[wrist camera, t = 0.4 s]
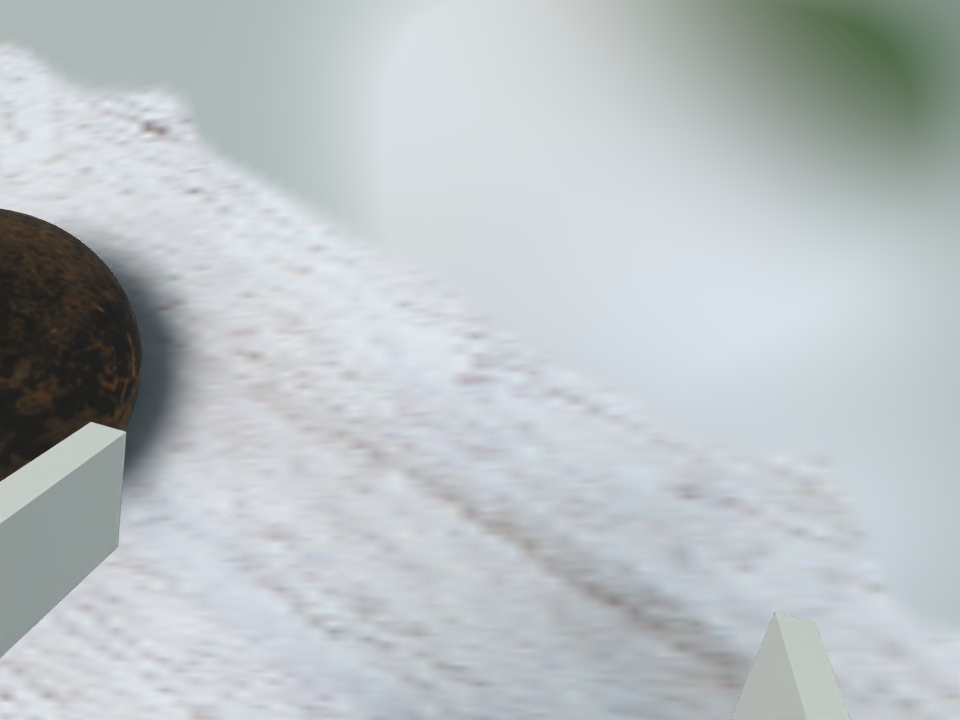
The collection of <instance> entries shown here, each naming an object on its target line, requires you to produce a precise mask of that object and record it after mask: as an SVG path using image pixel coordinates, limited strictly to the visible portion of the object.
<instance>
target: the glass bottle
mask: <svg viewBox="0 0 960 720" xmlns="http://www.w3.org/2000/svg"><path fill="white" fill-rule="evenodd" d="M141 362H142V351H141V342H140V335H139V330H138V326H137V322H136V319H135V315H134V313H133V310H132V308H131V305H130V303H129V301H128V298H127V296H126V294H125V292H124V290H123V289H122V287H121V286H120V284H119V282H118V280H117V279H116V278H115V276H114V275H113V273H112V272H111V271H110V270H109V268H108V267H107V266H106V264H105V263H104V262H103V261H102V260H101V259H100V258H99V257H98V256H97V255H96V254H95V253H94V252H93V251H92V250H91V249H89V248H88V247H87V246H86V245H85V244H83V243H82V242H81V241H80V240H79V239H77V238H76V237H74V236H72V235H71V234H69V233H68V232H66V231H64V230H63V229H61V228H59V227H57V226H55V225H53V224H51V223H49V222H46V221H44V220H41V219H38V218H36V217H33V216H30V215H27V214H23V213H19V212H15V211H11V210H5V209H0V482H1V481H2V480H4V479H5V478H7V477H8V476H10V475H11V474H13V473H14V472H16V471H17V470H19V469H20V468H22V467H23V466H25V465H26V464H28V463H30V462H31V461H33V460H34V459H36V458H37V457H39V456H40V455H42V454H43V453H45V452H46V451H48V450H49V449H51V448H52V447H54V446H55V445H57V444H58V443H60V442H61V441H63V440H64V439H66V438H67V437H69V436H70V435H72V434H73V433H75V432H77V431H78V430H80V429H81V428H83V427H84V426H86V425H87V424H89V423H90V422H93V423H96V424H100V425H104V426H107V427H111V428H114V429H118V430H122V431H123V430H124V429H125V427H126V425H127V423H128V421H129V418H130V416H131V414H132V411H133V408H134V404H135V401H136V398H137V393H138V390H139V384H140V376H141Z"/></svg>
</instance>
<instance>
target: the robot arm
mask: <svg viewBox="0 0 960 720" xmlns="http://www.w3.org/2000/svg"><path fill="white" fill-rule="evenodd" d="M125 445H126V432H125V431H122V430H118V429H114V428H111V427H107V426H104V425H100V424H96V423H93V422H90V423H89V424H87V425H86V426H84V427H83V428H81V429H80V430H78V431H77V432H75V433H73V434H72V435H70V436H69V437H67V438H66V439H64V440H63V441H61V442H60V443H58V444H57V445H55V446H54V447H52V448H51V449H49V450H48V451H46V452H45V453H43V454H42V455H40V456H39V457H37V458H36V459H34V460H33V461H31V462H30V463H28V464H26V465H25V466H23V467H22V468H20V469H19V470H17V471H16V472H14V473H13V474H11V475H10V476H8V477H7V478H5V479H4V480H2V481H1V482H0V658H1V657H2V656H3V655H4V654H5V653H6V652H7V651H8V650H9V649H10V648H11V647H13V646H14V645H15V644H16V643H17V642H18V641H19V640H20V639H21V638H22V637H23V636H24V635H25V634H26V633H27V632H28V631H29V630H30V629H32V628H33V627H34V626H35V625H36V624H37V623H38V622H39V621H40V620H41V619H42V618H43V617H44V616H45V615H46V614H47V613H48V612H50V611H51V610H52V609H53V608H54V607H55V606H56V605H57V604H58V603H59V602H60V601H61V600H62V599H63V598H64V597H65V596H66V595H68V594H69V593H70V592H71V591H72V590H73V589H74V588H75V587H76V586H77V585H78V584H79V583H80V582H81V581H82V580H83V579H84V578H85V577H87V576H88V575H89V574H90V573H91V572H92V571H93V570H94V569H95V568H96V567H97V566H98V565H99V564H100V563H101V562H102V561H103V560H105V559H106V558H107V557H108V556H109V555H110V554H111V553H112V552H113V551H114V550H115V549H116V548H117V547H118V539H119V526H120V513H121V499H122V486H123V472H124V459H125ZM730 720H851V719H850V716H849V714H848V711H847V708H846V705H845V703H844V700H843V697H842V694H841V692H840V689H839V686H838V683H837V681H836V678H835V675H834V672H833V670H832V667H831V664H830V661H829V659H828V656H827V653H826V650H825V648H824V645H823V642H822V639H821V637H820V634H819V631H818V628H817V626H816V623H815V622H812V621H809V620H805V619H801V618H798V617H794V616H790V615H787V614H783V613H780V612H776V611H775V613H774V615H773V617H772V620H771V622H770V625H769V627H768V630H767V632H766V634H765V637H764V639H763V642H762V644H761V646H760V649H759V651H758V654H757V656H756V658H755V661H754V663H753V666H752V668H751V670H750V673H749V675H748V678H747V680H746V682H745V685H744V687H743V690H742V692H741V695H740V697H739V699H738V702H737V704H736V707H735V709H734V711H733V714H732V716H731V719H730Z"/></svg>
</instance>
